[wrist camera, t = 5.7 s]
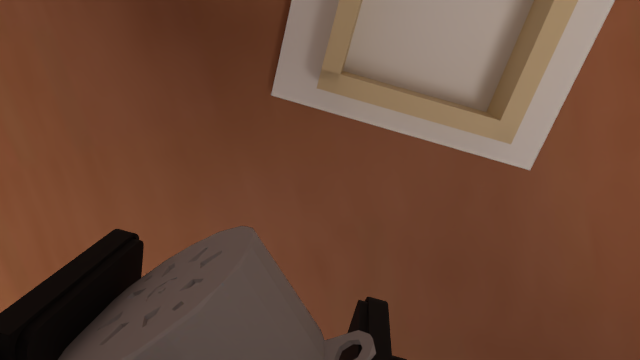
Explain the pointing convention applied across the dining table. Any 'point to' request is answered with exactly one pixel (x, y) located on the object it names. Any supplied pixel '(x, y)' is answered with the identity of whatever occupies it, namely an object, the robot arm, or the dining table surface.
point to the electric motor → (212, 311)
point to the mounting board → (441, 67)
